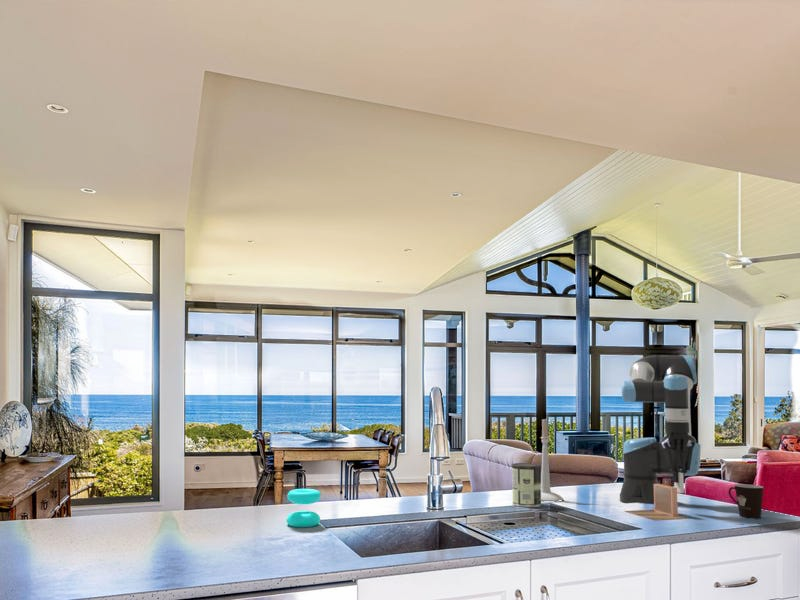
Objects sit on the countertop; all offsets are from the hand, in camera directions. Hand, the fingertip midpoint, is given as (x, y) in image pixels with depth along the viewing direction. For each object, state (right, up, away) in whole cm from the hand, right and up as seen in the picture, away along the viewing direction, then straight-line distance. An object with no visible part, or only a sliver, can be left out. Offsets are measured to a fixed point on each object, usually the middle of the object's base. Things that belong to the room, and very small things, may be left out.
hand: (679, 492), depth 231 cm
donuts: (-123, -3, -25) cm, 125 cm away
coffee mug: (+23, -8, -1) cm, 24 cm away
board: (-9, -7, -5) cm, 13 cm away
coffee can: (-49, -9, +14) cm, 52 cm away
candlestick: (-39, -10, +27) cm, 49 cm away
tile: (-5, -6, -2) cm, 9 cm away
